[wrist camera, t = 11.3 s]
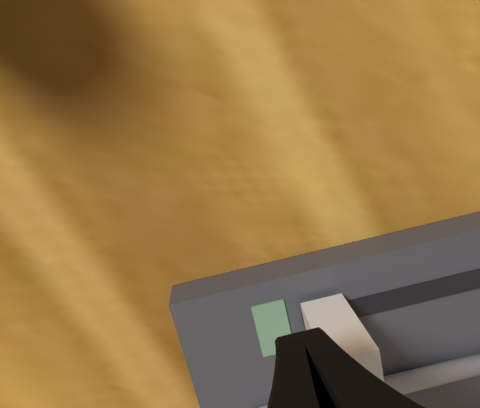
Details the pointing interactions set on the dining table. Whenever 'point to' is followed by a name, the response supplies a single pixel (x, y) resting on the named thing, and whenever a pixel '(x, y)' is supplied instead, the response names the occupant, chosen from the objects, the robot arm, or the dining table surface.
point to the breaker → (343, 330)
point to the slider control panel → (362, 303)
